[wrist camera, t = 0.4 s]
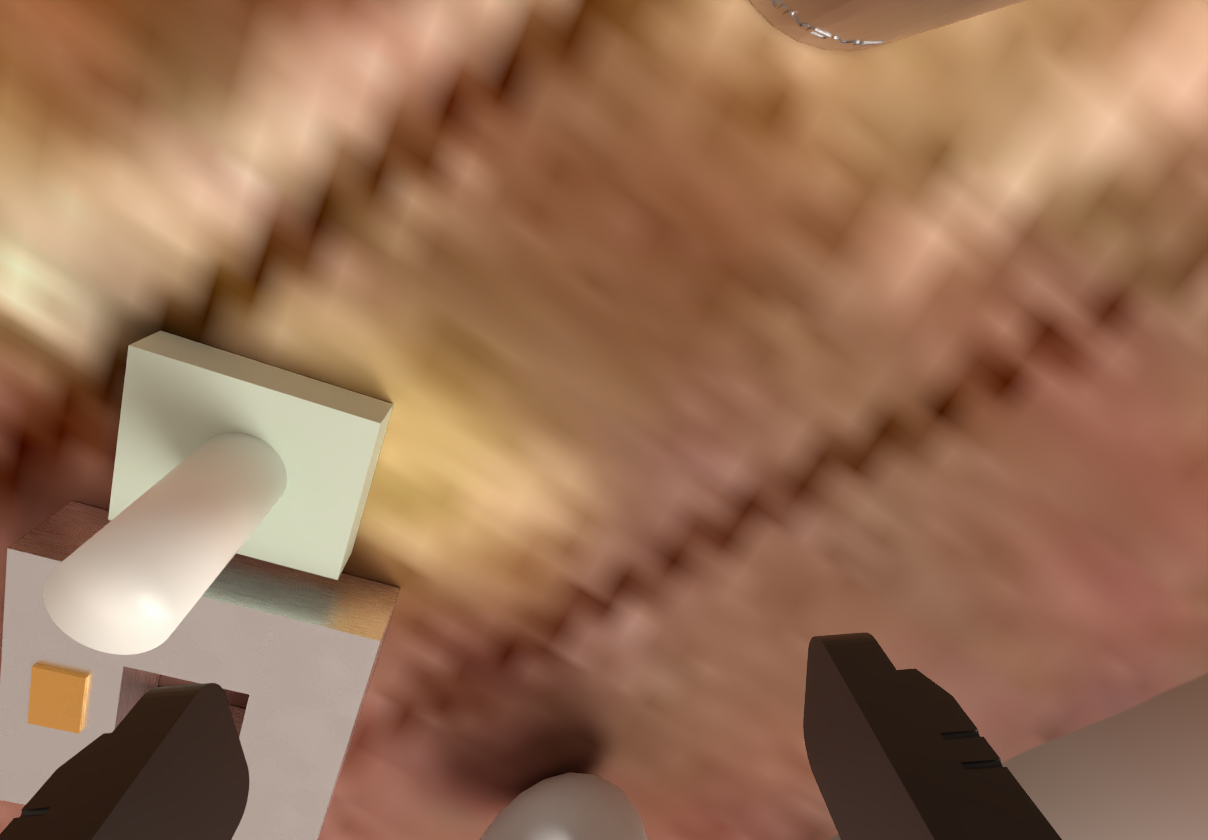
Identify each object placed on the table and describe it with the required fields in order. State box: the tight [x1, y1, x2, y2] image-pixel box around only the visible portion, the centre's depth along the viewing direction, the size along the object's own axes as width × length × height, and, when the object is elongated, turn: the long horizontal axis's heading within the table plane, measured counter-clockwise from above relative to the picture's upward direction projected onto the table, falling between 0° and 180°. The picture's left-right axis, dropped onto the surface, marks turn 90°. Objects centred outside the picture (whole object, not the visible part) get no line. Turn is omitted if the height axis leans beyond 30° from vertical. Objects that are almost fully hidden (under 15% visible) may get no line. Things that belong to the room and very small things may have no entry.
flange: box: [0, 501, 400, 840], centre depth 30 cm, size 14×14×4 cm
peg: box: [43, 433, 287, 655], centre depth 22 cm, size 3×3×8 cm
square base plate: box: [108, 331, 393, 580], centre depth 26 cm, size 8×9×2 cm
